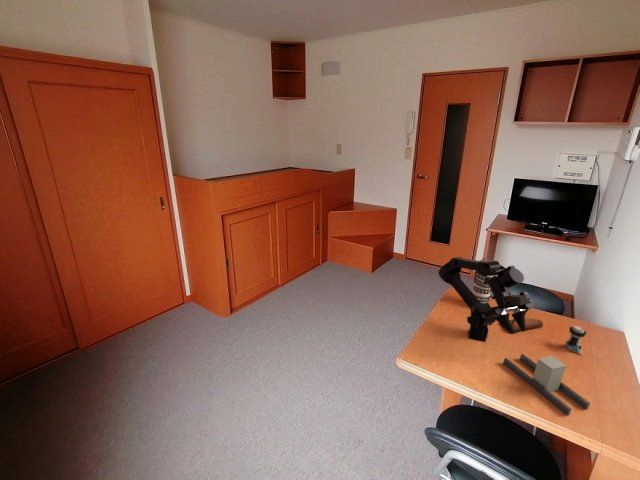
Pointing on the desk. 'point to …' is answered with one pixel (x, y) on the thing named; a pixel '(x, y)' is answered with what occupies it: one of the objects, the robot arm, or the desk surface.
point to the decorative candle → (481, 287)
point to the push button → (575, 339)
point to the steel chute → (545, 392)
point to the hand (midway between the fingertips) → (518, 332)
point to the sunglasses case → (529, 324)
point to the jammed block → (549, 373)
